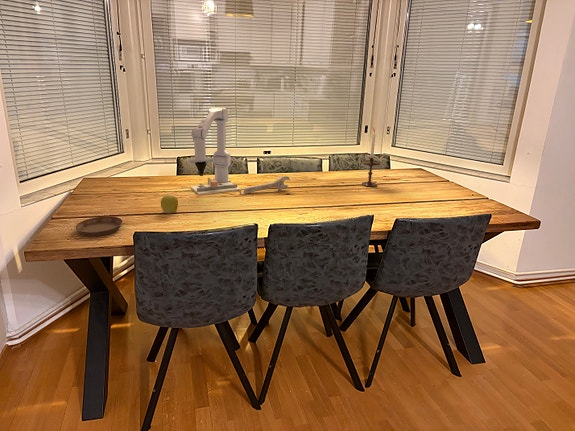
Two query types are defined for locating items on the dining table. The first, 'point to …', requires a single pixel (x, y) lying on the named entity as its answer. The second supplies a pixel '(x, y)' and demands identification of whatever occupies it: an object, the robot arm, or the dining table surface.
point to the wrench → (267, 186)
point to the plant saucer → (99, 226)
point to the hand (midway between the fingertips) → (201, 175)
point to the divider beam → (203, 188)
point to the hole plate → (214, 190)
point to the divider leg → (212, 183)
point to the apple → (169, 204)
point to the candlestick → (371, 164)
